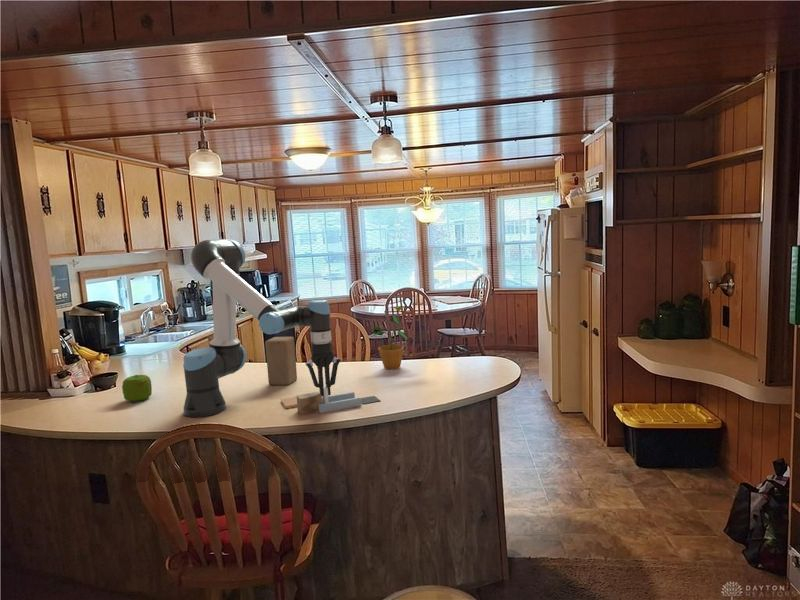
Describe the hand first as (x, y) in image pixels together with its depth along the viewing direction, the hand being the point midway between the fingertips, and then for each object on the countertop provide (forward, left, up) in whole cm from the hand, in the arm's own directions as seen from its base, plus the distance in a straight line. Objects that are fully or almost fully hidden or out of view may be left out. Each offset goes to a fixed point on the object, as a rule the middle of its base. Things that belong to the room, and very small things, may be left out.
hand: (326, 404), depth 197 cm
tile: (-9, +12, -1) cm, 15 cm away
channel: (+4, 0, -1) cm, 5 cm away
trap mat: (+17, 0, -1) cm, 17 cm away
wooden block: (-8, +46, -2) cm, 47 cm away
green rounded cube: (-67, +54, -2) cm, 86 cm away
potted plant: (+43, +42, -2) cm, 60 cm away
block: (-6, -1, -1) cm, 6 cm away
